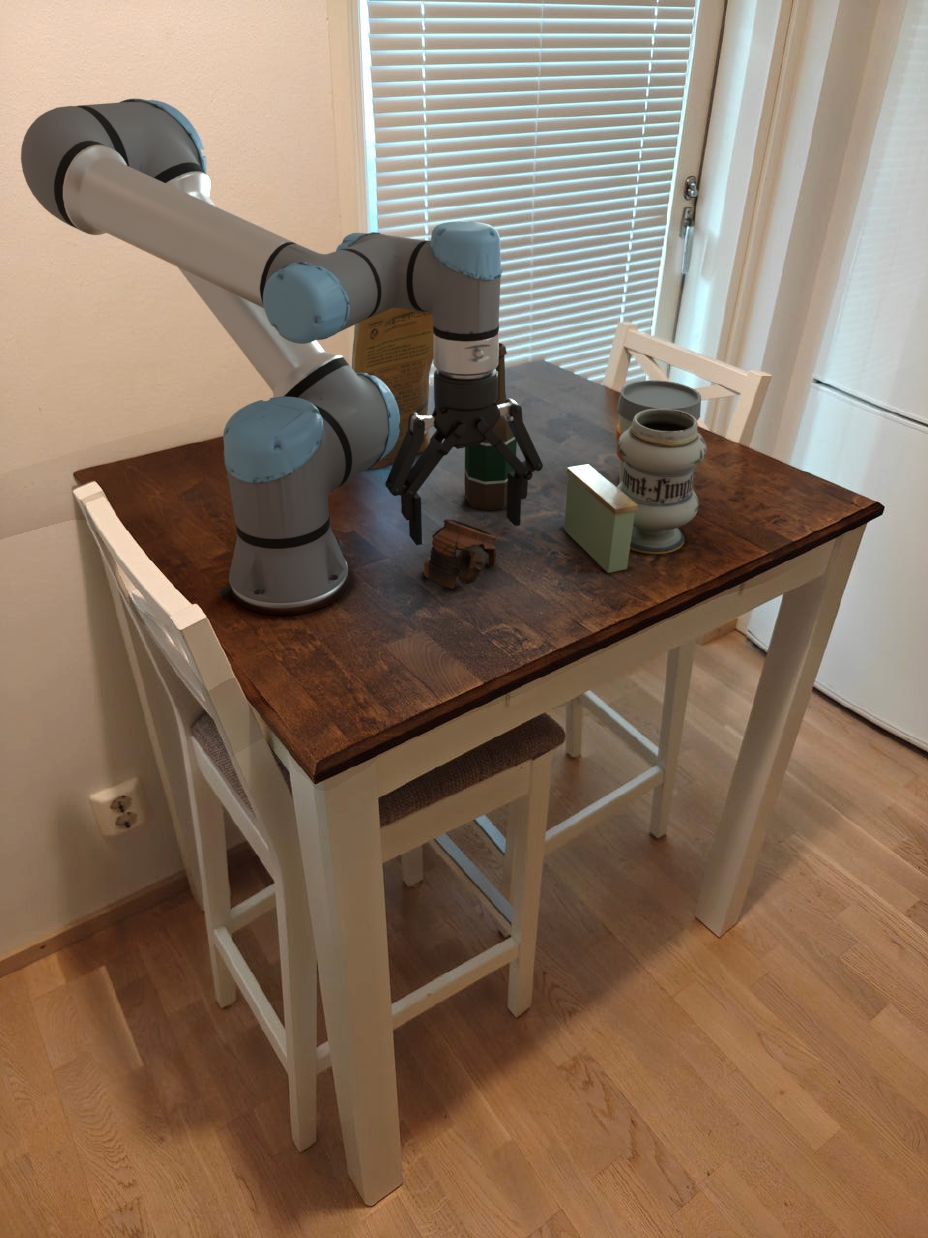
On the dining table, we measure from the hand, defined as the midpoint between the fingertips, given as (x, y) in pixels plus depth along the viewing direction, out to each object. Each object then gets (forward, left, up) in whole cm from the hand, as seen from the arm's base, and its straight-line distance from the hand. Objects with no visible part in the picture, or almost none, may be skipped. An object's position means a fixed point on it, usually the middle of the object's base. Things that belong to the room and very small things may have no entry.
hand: (465, 530), depth 115 cm
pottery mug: (0, 0, -7) cm, 7 cm away
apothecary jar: (+29, 0, -7) cm, 30 cm away
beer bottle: (+12, +19, -7) cm, 24 cm away
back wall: (+20, 0, -7) cm, 21 cm away
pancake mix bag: (+4, +39, -7) cm, 40 cm away
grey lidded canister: (+38, +15, -7) cm, 41 cm away
